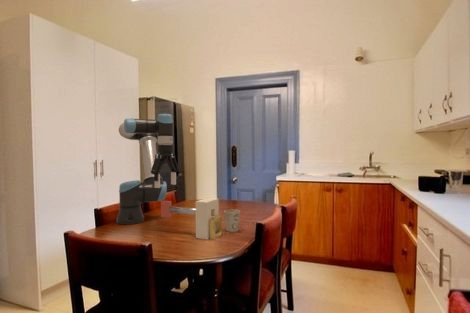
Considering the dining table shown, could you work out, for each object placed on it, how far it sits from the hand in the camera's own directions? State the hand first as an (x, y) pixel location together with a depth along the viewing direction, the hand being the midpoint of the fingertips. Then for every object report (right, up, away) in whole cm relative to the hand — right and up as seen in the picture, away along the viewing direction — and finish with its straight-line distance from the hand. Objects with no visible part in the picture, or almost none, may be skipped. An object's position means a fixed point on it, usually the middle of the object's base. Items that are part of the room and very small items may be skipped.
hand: (165, 186), depth 151 cm
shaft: (+10, -16, -4) cm, 19 cm away
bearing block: (+22, -23, -9) cm, 33 cm away
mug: (+33, -23, +1) cm, 40 cm away
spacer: (+26, -23, -11) cm, 37 cm away
